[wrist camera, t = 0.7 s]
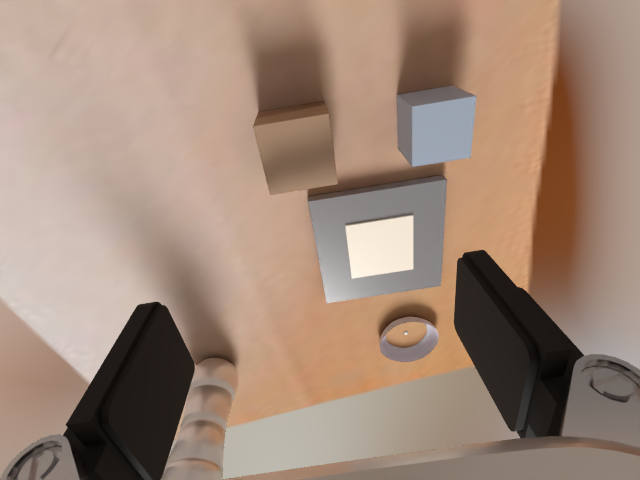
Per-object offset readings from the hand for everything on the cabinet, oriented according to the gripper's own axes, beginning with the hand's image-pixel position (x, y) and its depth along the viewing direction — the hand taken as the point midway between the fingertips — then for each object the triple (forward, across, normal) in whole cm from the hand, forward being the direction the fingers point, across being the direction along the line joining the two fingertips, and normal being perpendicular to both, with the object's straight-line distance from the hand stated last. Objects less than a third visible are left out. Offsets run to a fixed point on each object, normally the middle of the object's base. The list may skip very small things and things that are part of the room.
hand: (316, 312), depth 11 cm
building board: (+25, -6, +14) cm, 29 cm away
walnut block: (+25, +1, 0) cm, 25 cm away
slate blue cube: (+25, -11, 0) cm, 27 cm away
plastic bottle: (+26, +18, +30) cm, 44 cm away
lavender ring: (+27, -9, +30) cm, 41 cm away
